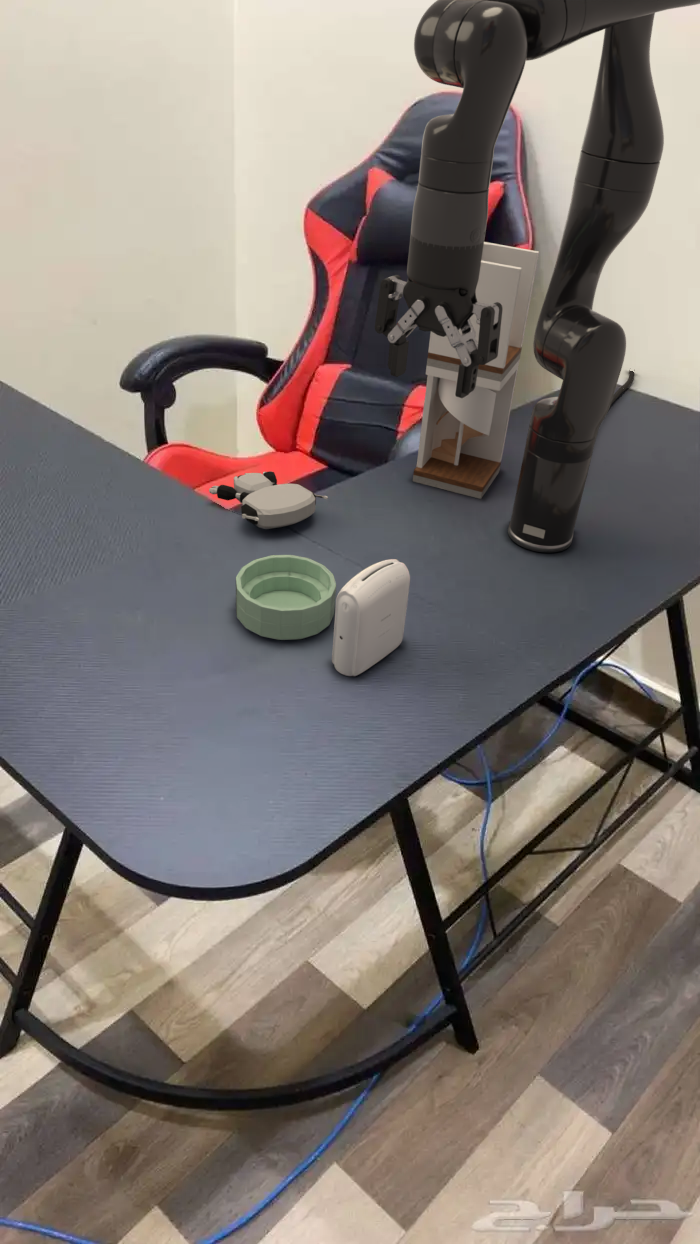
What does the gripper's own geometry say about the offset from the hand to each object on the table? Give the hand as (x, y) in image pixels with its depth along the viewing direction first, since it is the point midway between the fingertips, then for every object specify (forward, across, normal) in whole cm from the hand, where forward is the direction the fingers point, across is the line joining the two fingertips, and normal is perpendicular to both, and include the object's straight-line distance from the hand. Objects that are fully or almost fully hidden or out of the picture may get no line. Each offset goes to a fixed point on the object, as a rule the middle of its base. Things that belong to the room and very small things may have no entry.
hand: (429, 384), depth 106 cm
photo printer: (+30, -3, +12) cm, 32 cm away
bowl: (+30, +10, +12) cm, 34 cm away
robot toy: (+30, +28, -6) cm, 42 cm away
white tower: (+30, +13, -36) cm, 49 cm away
